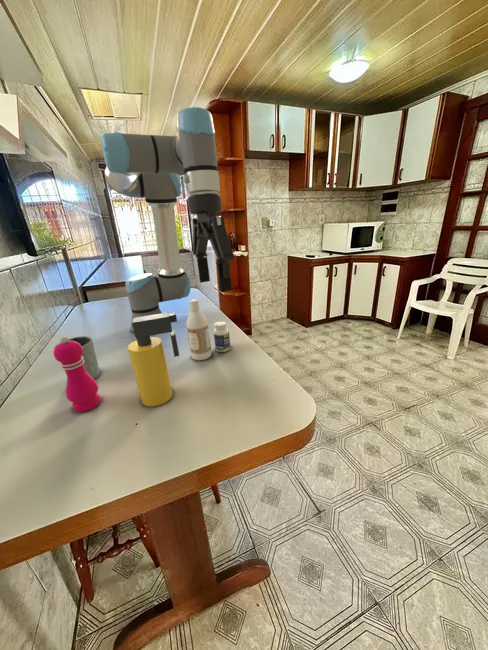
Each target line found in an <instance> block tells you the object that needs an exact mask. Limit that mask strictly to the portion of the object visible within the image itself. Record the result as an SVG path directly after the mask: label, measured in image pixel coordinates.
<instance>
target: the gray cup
mask: <svg viewBox="0 0 488 650" xmlns="http://www.w3.org/2000/svg"><path fill="white" fill-rule="evenodd" d="M68 339H69V341H76V342H78V343H79V344H80V345H81V346H82V348H83V353H82V355H81V356H82V357H83V360H84V364H83V365H84V368H85V370H86V372H87V373H88V374H89V375H90V376H91V377H92V378H93V379H94V380H96V378H98V377H99V376H100V374H101V370H100V367H99V363H98V359H97V354H96V350H95V345H94V340H93V338H92V337H91V336H90V335H89V336H88V335H79V336H75V337H71V338H68ZM60 343H61V342H60V341H59V343H57V344H56V345H54V346H53V350H54V349H55V347H56V346H57V345H58V344H60ZM60 363H61V362H59V364H60ZM63 371H64V372H65V370H63Z"/></svg>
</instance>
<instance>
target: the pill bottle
mask: <svg viewBox="0 0 488 650" xmlns="http://www.w3.org/2000/svg"><path fill="white" fill-rule="evenodd" d="M213 340H214V348H215V350H216V352H219V353H224V352H228V351H229V350H231V338H230V330H229V329H228V327H227V322H225V321H217V322H215V323H214V329H213Z"/></svg>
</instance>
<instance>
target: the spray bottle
mask: <svg viewBox="0 0 488 650" xmlns="http://www.w3.org/2000/svg"><path fill="white" fill-rule="evenodd" d="M131 320H132V319H131ZM177 322H178V318H177V314H176V312H171V313H169V312H168V311H167V312H162V313H161V314H155V315H148V316H142V317H136V318H133V320H132V326H133V330H134V332H133V333H134V334H133V335H134V337H135V339H136V340H134V341H132V342H130V343H129V344H128V345H127V350H128V354H129V355H128V356H129V358H130V362H131V366H132V369H133V373H134V376H135V381H136V384H137V388H138V392H139V397H140V400H141V403H142V404H143V406H146V407H158V406H161V405H164V404H165V403H167V402H168V401H169V400H171V398H172V397H173V389H172V384H171V380H170V379H171V378H170V375H169V370H168V365H167V360H166V355H165V351H164V346H163V342H162V339H161V338H160V337H156V335H162V334H167V333H168V334H170V332H172V331H173V328H172V323H177Z"/></svg>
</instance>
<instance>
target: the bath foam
mask: <svg viewBox="0 0 488 650" xmlns="http://www.w3.org/2000/svg"><path fill="white" fill-rule="evenodd" d="M188 303H189V310H190V311H189V314H188V316H187V317H186V318H187V319H186V330H187V331H186V332H187V338H188V343H189V350H190V355H191V358H192V359H193V360H195V361H204V360H208V359H209V358H210V357H211V356H212V354H213V352H212V344H211V337H210V330H209V329H210V327H209V322H208V320H207V318H206V316H205V314H204V313H203V312H202V311H201V310H200V302H199V299H197V298H193V299H190V300H188Z"/></svg>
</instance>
